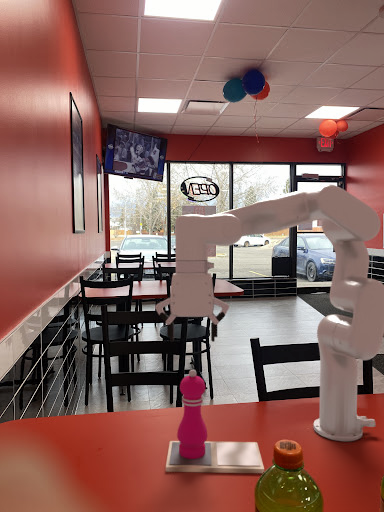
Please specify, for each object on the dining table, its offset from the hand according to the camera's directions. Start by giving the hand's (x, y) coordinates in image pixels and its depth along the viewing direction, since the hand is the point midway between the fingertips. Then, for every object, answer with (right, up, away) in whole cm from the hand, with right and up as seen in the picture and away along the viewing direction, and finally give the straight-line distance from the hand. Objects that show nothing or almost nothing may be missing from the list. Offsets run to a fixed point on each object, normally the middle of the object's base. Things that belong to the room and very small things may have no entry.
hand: (192, 340), depth 97 cm
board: (+5, -28, +1) cm, 29 cm away
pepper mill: (0, -27, +1) cm, 27 cm away
